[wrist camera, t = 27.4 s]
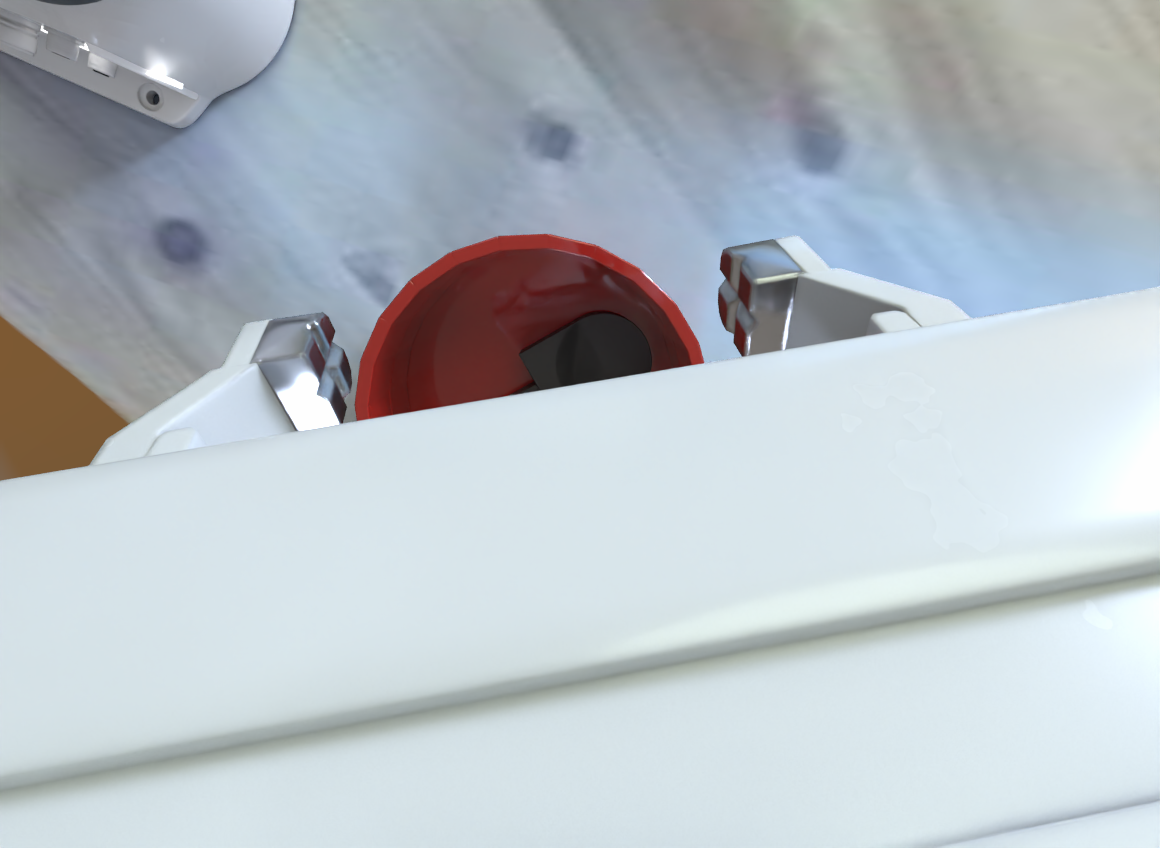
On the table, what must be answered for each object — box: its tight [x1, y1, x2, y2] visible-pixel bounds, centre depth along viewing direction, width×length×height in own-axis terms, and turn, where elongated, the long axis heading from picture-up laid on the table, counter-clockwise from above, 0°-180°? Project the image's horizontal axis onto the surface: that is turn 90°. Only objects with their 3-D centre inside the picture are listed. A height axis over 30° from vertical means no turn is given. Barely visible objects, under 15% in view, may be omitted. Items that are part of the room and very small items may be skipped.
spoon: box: [508, 311, 652, 396], centre depth 44 cm, size 18×7×2 cm, turn 119°
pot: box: [355, 234, 704, 421], centre depth 41 cm, size 22×22×10 cm
